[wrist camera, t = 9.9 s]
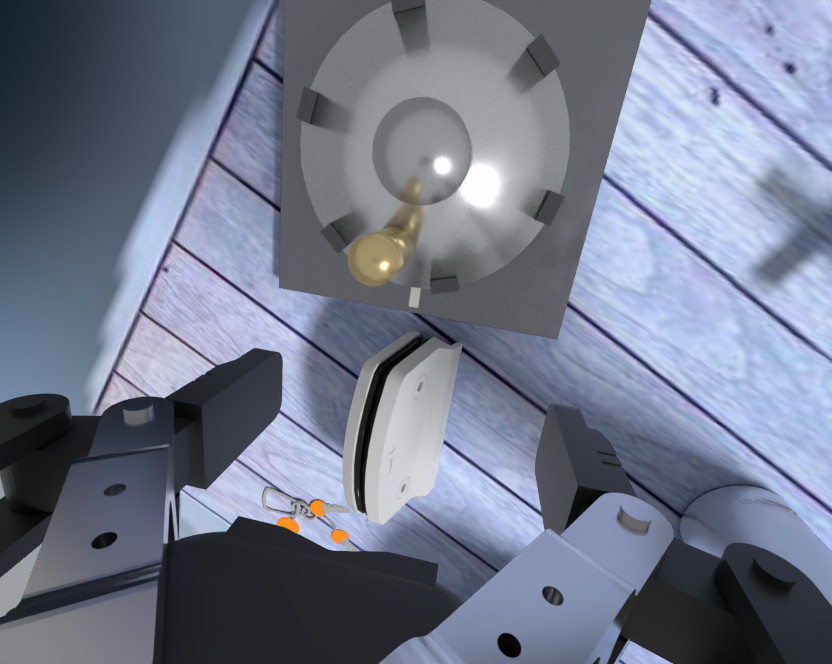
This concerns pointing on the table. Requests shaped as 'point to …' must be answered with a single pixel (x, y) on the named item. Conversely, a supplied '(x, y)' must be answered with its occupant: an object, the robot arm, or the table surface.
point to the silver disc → (434, 142)
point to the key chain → (318, 509)
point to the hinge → (398, 424)
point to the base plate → (563, 240)
